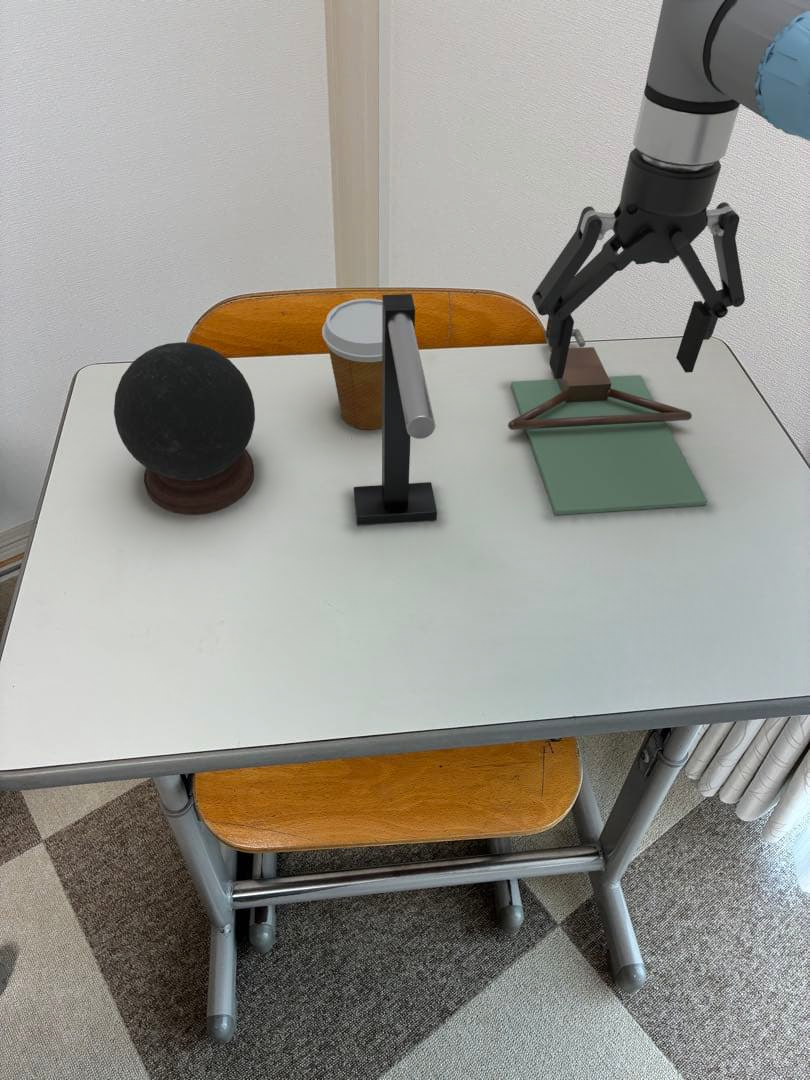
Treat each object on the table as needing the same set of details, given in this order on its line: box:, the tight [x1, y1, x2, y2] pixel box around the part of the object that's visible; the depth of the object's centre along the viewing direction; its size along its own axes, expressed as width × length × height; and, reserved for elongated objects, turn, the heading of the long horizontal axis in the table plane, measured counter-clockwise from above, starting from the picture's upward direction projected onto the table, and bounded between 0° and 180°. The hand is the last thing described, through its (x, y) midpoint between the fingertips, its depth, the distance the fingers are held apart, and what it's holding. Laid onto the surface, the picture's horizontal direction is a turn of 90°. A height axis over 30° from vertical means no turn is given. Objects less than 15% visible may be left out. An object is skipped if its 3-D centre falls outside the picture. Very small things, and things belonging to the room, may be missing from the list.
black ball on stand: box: [113, 341, 256, 515], centre depth 78 cm, size 13×13×15 cm
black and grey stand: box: [353, 293, 438, 526], centre depth 68 cm, size 8×17×23 cm, turn 7°
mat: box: [510, 374, 708, 516], centre depth 89 cm, size 22×16×1 cm
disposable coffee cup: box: [321, 298, 382, 430], centre depth 87 cm, size 10×10×12 cm
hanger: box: [507, 328, 693, 431], centre depth 94 cm, size 21×2×18 cm
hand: (620, 368), depth 82 cm, fingers open, 13 cm apart
